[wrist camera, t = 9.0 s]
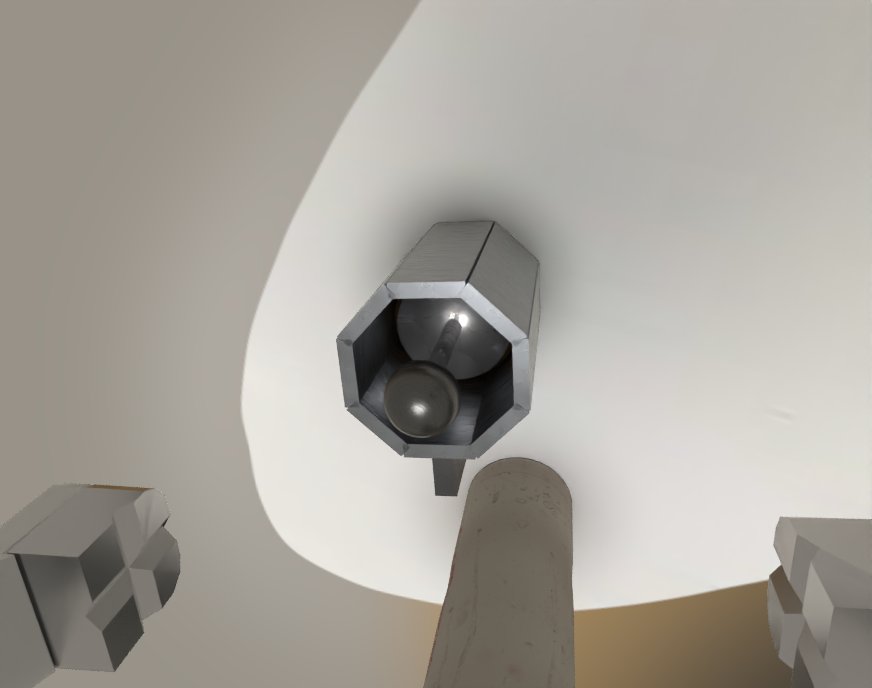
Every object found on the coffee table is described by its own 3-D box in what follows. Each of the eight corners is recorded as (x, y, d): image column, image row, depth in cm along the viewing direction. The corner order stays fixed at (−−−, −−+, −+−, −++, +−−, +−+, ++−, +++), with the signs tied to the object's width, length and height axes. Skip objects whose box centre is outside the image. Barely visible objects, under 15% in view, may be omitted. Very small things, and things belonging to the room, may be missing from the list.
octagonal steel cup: (538, 219, 44) (527, 280, 31) (541, 394, 49) (532, 510, 36) (394, 224, 46) (328, 284, 33) (410, 393, 50) (357, 502, 38)
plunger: (510, 266, 39) (488, 344, 28) (513, 374, 42) (494, 485, 30) (395, 268, 40) (330, 344, 29) (405, 373, 43) (349, 480, 32)
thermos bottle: (467, 539, 54) (381, 955, 29) (468, 453, 52) (372, 830, 26) (568, 549, 53) (572, 994, 28) (575, 461, 50) (585, 868, 25)
